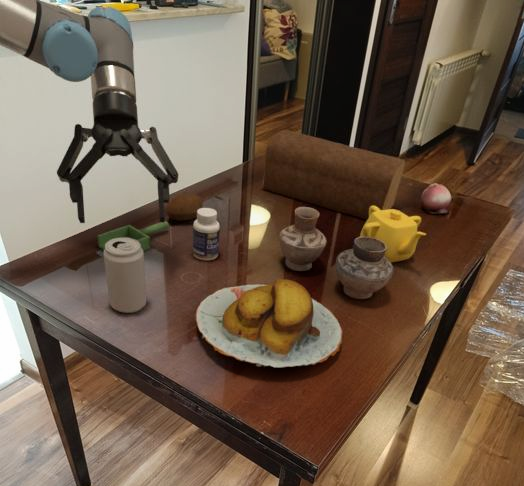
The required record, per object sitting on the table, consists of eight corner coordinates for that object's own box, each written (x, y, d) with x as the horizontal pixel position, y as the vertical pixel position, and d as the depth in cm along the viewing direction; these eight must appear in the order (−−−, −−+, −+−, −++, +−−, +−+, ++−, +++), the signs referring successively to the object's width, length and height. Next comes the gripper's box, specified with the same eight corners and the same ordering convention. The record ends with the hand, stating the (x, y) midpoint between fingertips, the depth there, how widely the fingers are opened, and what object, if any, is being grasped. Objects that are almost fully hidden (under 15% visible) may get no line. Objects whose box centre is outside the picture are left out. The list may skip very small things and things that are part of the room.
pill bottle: (208, 264, 100) (210, 220, 94) (187, 255, 102) (187, 212, 95) (223, 254, 104) (225, 211, 97) (202, 246, 105) (203, 203, 99)
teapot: (419, 249, 114) (433, 208, 108) (412, 275, 105) (427, 231, 98) (362, 235, 117) (373, 194, 111) (351, 258, 108) (361, 215, 101)
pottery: (292, 247, 109) (300, 196, 101) (394, 291, 99) (411, 238, 92) (263, 266, 102) (270, 212, 94) (370, 315, 92) (386, 260, 84)
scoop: (119, 260, 98) (118, 248, 96) (98, 246, 101) (97, 235, 99) (178, 236, 108) (178, 226, 106) (157, 225, 111) (157, 214, 109)
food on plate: (171, 311, 87) (170, 280, 82) (283, 279, 98) (287, 251, 94) (247, 402, 71) (250, 370, 67) (368, 352, 83) (378, 322, 79)
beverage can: (127, 290, 90) (121, 231, 82) (154, 303, 88) (150, 244, 80) (102, 306, 86) (93, 245, 78) (129, 320, 84) (123, 259, 76)
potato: (209, 217, 116) (210, 192, 112) (182, 230, 110) (182, 204, 106) (188, 208, 119) (188, 183, 115) (161, 221, 112) (160, 195, 108)
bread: (281, 175, 142) (288, 123, 132) (393, 206, 132) (408, 153, 123) (260, 190, 132) (265, 135, 123) (379, 225, 122) (395, 169, 113)
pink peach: (427, 202, 137) (435, 177, 133) (451, 212, 133) (461, 186, 129) (412, 208, 132) (421, 183, 128) (437, 219, 129) (447, 193, 124)
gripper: (184, 116, 92) (192, 226, 91) (43, 111, 86) (50, 227, 85) (187, 93, 85) (196, 212, 83) (33, 85, 79) (40, 213, 78)
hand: (122, 220), depth 84 cm, fingers open, 13 cm apart
